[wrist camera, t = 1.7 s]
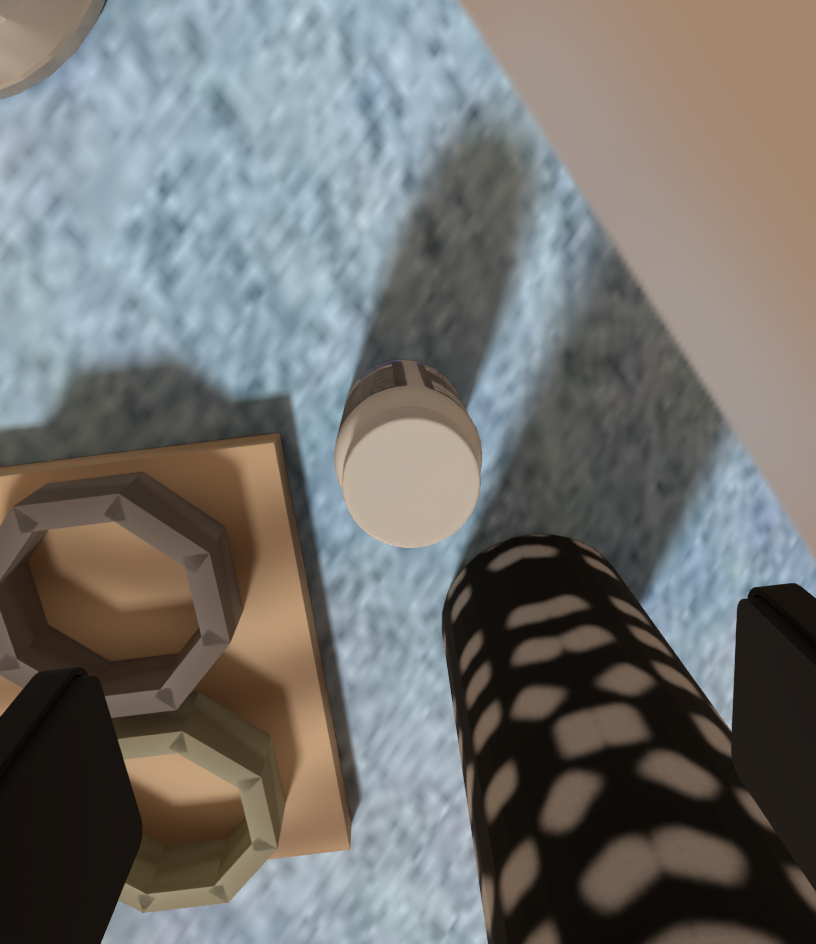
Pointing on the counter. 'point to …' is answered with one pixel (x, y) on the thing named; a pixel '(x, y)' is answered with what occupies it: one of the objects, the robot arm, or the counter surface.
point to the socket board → (165, 615)
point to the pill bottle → (407, 455)
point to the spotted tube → (601, 767)
